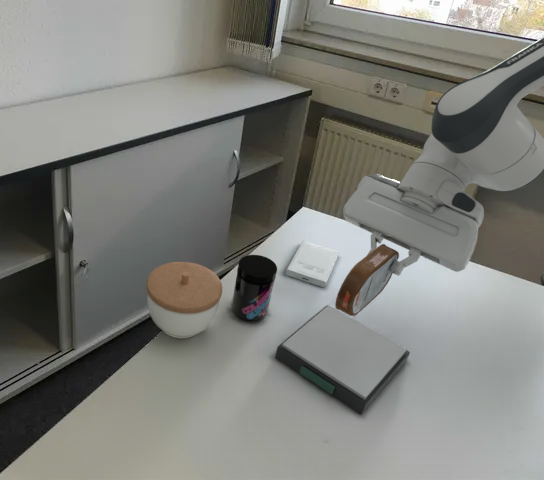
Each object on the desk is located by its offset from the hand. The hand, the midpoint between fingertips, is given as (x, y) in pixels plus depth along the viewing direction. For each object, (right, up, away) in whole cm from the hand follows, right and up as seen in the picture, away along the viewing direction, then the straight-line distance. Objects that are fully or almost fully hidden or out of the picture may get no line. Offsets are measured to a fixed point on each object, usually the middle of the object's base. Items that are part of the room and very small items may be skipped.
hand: (382, 267), depth 84 cm
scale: (-5, -16, +6) cm, 18 cm away
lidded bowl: (-32, -11, +10) cm, 35 cm away
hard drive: (-4, -1, +29) cm, 29 cm away
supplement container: (-19, -9, +15) cm, 26 cm away
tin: (-3, -6, 0) cm, 6 cm away
